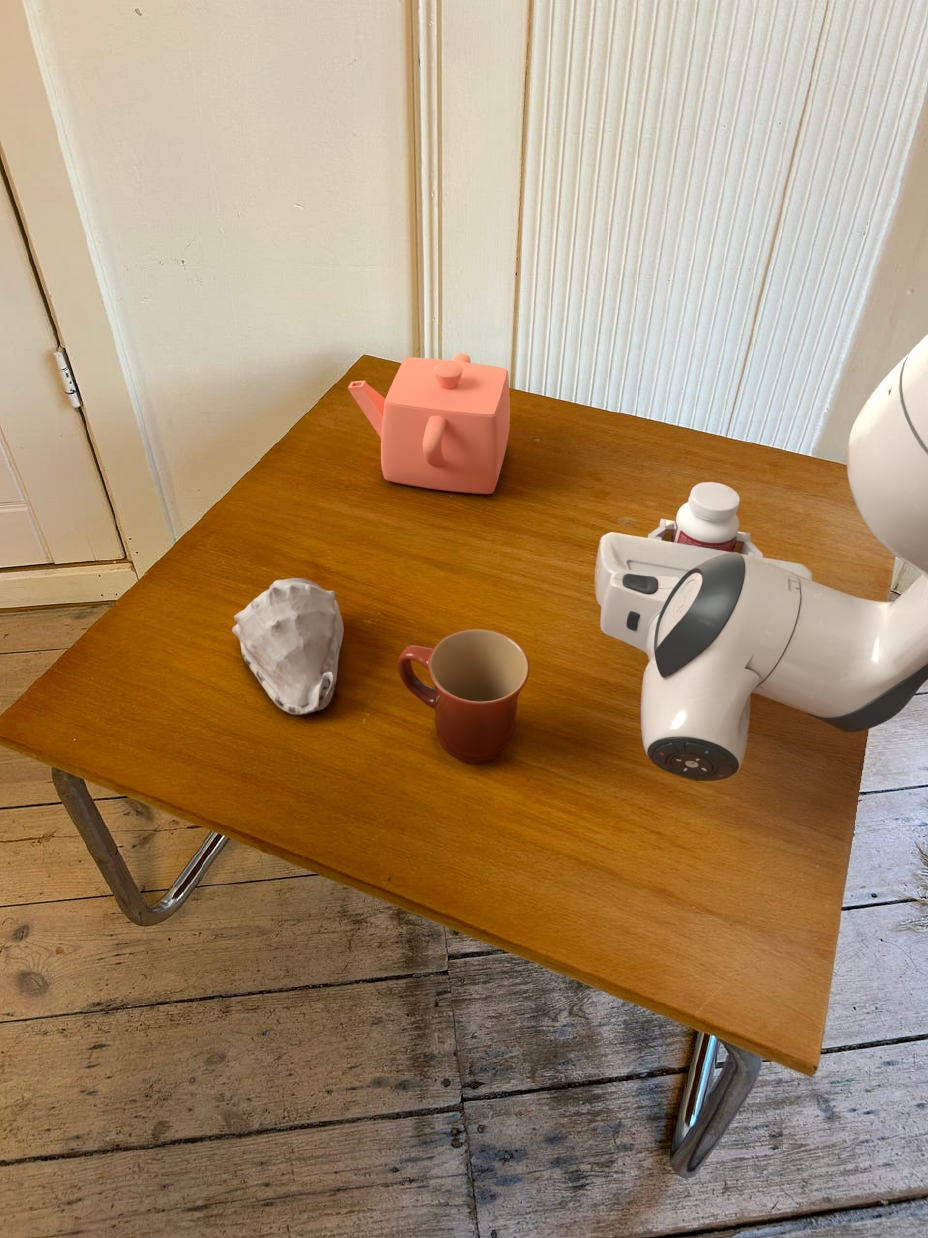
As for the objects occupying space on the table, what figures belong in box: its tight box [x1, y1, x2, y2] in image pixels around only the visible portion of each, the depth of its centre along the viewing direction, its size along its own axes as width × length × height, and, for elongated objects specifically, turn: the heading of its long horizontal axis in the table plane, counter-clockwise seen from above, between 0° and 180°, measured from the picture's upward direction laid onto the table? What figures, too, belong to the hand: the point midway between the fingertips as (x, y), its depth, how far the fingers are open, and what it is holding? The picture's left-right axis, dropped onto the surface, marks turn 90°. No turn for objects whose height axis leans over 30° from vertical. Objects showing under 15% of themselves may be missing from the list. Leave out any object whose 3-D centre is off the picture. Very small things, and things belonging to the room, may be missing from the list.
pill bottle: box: [671, 481, 741, 552], centre depth 87 cm, size 6×6×11 cm
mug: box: [397, 628, 530, 764], centre depth 78 cm, size 12×9×10 cm
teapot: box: [347, 352, 511, 495], centre depth 108 cm, size 20×22×14 cm
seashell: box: [231, 577, 345, 716], centre depth 84 cm, size 12×14×10 cm
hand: (703, 530), depth 87 cm, fingers closed on pill bottle, 6 cm apart
